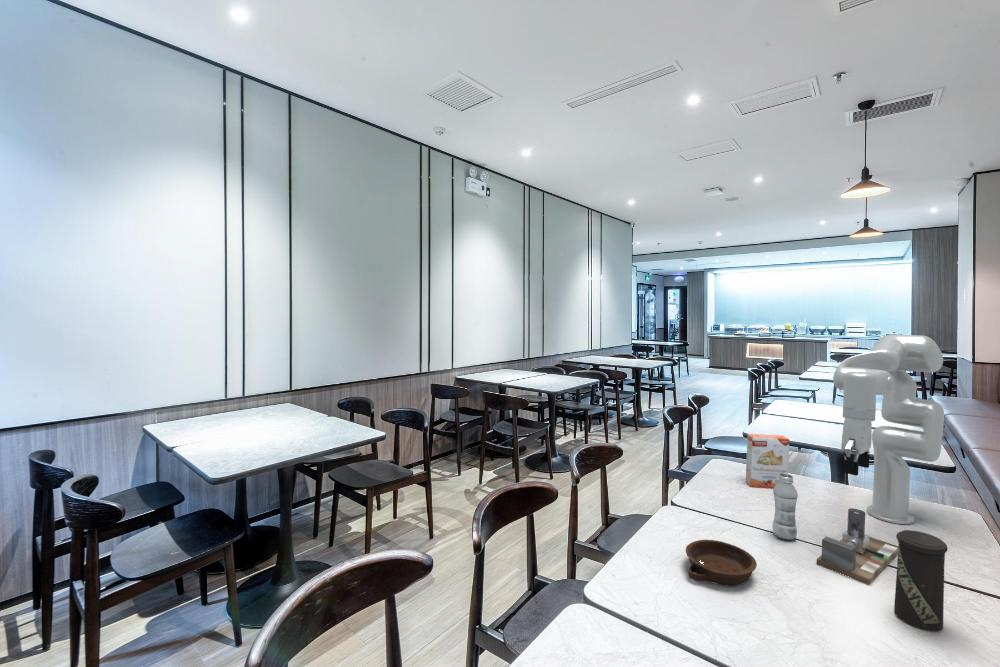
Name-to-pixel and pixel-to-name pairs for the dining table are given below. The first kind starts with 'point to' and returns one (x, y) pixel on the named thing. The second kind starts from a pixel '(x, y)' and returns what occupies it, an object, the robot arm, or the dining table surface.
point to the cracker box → (766, 459)
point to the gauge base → (856, 558)
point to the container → (920, 580)
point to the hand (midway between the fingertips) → (856, 470)
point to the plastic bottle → (785, 508)
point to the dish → (719, 562)
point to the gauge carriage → (857, 532)
